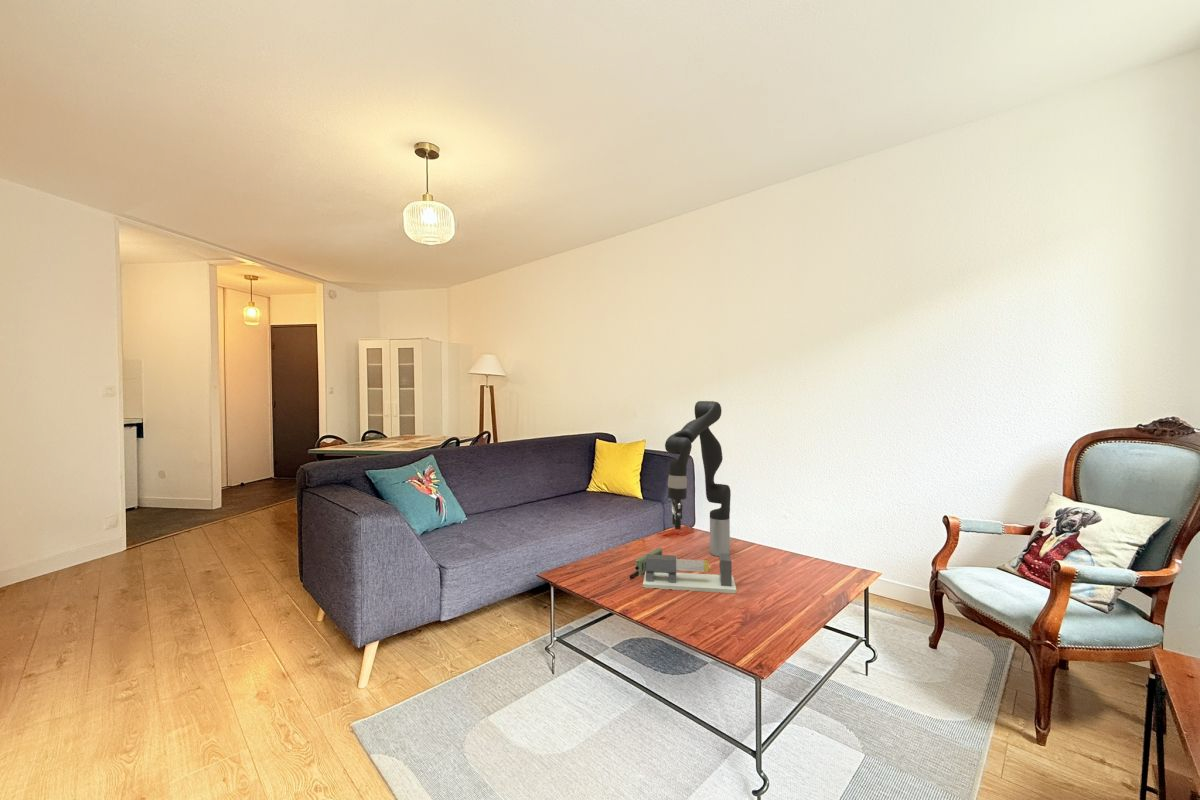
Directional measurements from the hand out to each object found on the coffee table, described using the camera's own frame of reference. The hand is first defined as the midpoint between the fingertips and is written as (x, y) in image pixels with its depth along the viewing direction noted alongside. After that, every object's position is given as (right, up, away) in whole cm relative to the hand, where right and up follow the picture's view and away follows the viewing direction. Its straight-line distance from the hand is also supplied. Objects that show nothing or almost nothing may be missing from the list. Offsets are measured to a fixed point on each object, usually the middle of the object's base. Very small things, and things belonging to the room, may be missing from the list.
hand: (676, 526), depth 192 cm
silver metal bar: (+1, -18, +2) cm, 18 cm away
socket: (+19, -22, -1) cm, 29 cm away
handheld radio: (-11, -24, +16) cm, 30 cm away
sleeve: (-6, -22, +3) cm, 23 cm away
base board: (+5, -23, +1) cm, 24 cm away
